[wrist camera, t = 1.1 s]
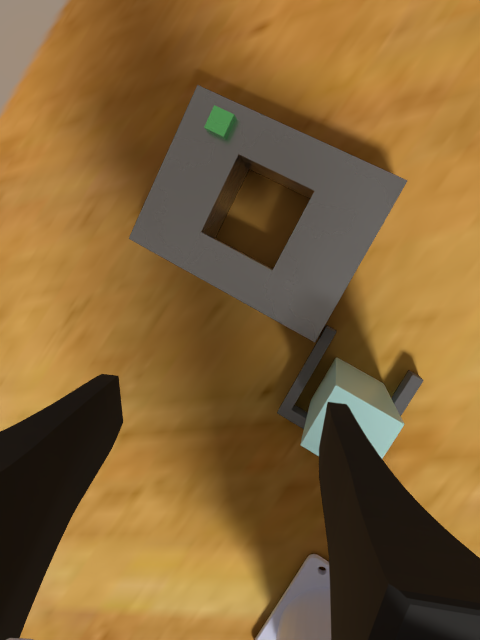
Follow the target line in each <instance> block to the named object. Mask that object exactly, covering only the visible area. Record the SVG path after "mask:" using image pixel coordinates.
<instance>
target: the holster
mask: <svg viewBox="0 0 480 640" xmlns="http://www.w3.org/2000/svg"><path fill="white" fill-rule="evenodd" d="M335 334H336V330H334V329H333V328H331V327H329V326H326V328H325V329H324V331H323V333H322V335H321V336H320V338H319V340H318V342H317V343H316V345H315V347H314V349H313V350H312V352H311V354H310V356H309V357H308V359H307V361H306V363H305V364H304V366H303V368H302V370H301V371H300V373H299V375H298V377H297V378H296V380H295V382H294V384H293V385H292V387H291V389H290V390H289V392H288V394H287V396H286V397H285V399H284V401H283V403H282V404H281V406H280V408H279V410H278V412H277V413H278V414H279V415H281V416H283V417H284V418H286V419H288V420H289V421H291V422H293V423H294V424H296V425H298V426H299V427H301V428H303V429H304V427H305V422H306V418H307V414H308V412H306V411H304V410H303V409H301V408H299V407H298V406H296V405H294V404H295V403H296V401H297V399H298V397H299V396H300V394H301V392H302V391H303V389H304V387H305V385H306V384H307V382H308V380H309V379H310V377H311V375H312V373H313V372H314V370H315V368H316V366H317V365H318V363H319V361H320V360H321V358H322V356H323V354H324V353H325V351H326V349H327V347H328V346H329V344H330V342H331V341H332V339H333V337H334V335H335ZM423 381H424V380H423V379H422V378H421V377H420V376H419V375H417V374H415V373H413V372H411V371H410V370H409V371H408V372H407V374H406V375H405V377H404V379H403V380H402V382H401V383H400V385H399V387H398V388H397V390H396V391H395V393H394V394H393V396H392V398H391V399H392V401H393V403H394V405H395V407H396V409H397V411H398V413H399V414H400V416H401V415H402V413H403V412H404V410H405V409H406V407H407V406H408V404H409V402H410V401H411V399H412V398H413V396H414V395H415V393H416V392H417V390H418V388H419V387H420V385H421V384H422V382H423Z"/></svg>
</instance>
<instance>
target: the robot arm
mask: <svg viewBox="0 0 480 640" xmlns="http://www.w3.org/2000/svg"><path fill="white" fill-rule="evenodd" d="M122 424H123V416H122V406H121V396H120V387H119V377H118V376H114V375H106V374H101V375H99V376H97V377H95V378H94V379H92V380H90V381H89V382H87V383H85V384H84V385H82V386H81V387H79V388H77V389H76V390H74V391H73V392H71V393H69V394H68V395H66V396H65V397H63V398H61V399H60V400H58V401H56V402H55V403H53V404H51V405H50V406H48V407H46V408H44V409H43V410H41V411H39V412H37V413H36V414H34V415H32V416H30V417H28V418H27V419H25V420H23V421H21V422H19V423H17V424H15V425H13V426H11V427H9V428H7V429H5V430H3V431H1V432H0V640H33V639H23V638H19V637H20V635H21V632H22V630H23V627H24V624H25V622H26V619H27V617H28V614H29V612H30V609H31V607H32V604H33V602H34V600H35V597H36V595H37V592H38V590H39V588H40V585H41V583H42V580H43V578H44V576H45V573H46V571H47V569H48V567H49V564H50V562H51V560H52V558H53V555H54V553H55V551H56V549H57V546H58V544H59V542H60V540H61V538H62V536H63V534H64V532H65V530H66V527H67V525H68V523H69V521H70V519H71V517H72V515H73V513H74V512H75V510H76V508H77V506H78V504H79V503H80V501H81V499H82V498H83V496H84V494H85V493H86V491H87V489H88V488H89V486H90V484H91V483H92V481H93V479H94V478H95V476H96V474H97V473H98V471H99V469H100V468H101V466H102V464H103V463H104V461H105V459H106V458H107V456H108V454H109V452H110V451H111V449H112V447H113V445H114V443H115V440H116V438H117V436H118V433H119V431H120V429H121V426H122ZM319 480H320V488H321V496H322V504H323V511H324V519H325V527H326V535H327V542H328V553H329V562H328V561H326V560H325V559H323V558H322V557H320V556H319V555H317V554H311V555H309V556H308V557H307V559H306V560H305V562H304V563H303V565H302V566H301V568H300V570H299V571H298V573H297V574H296V576H295V577H294V579H293V580H292V582H291V584H290V585H289V587H288V588H287V590H286V591H285V593H284V594H283V596H282V598H281V599H280V601H279V602H278V604H277V605H276V607H275V608H274V610H273V612H272V613H271V615H270V616H269V618H268V619H267V621H266V623H265V624H264V626H263V627H262V629H261V630H260V632H259V633H258V635H257V637H256V638H255V640H480V558H479V557H478V556H476V555H475V554H474V553H473V552H472V551H470V550H469V549H468V548H467V547H466V546H464V545H463V544H462V543H461V542H460V541H458V540H457V539H456V538H455V537H454V536H453V535H452V534H450V533H449V532H448V531H447V530H446V529H445V528H444V527H443V526H442V525H441V524H440V523H438V522H437V521H436V520H435V519H434V518H433V517H432V516H431V515H430V514H429V513H428V512H427V511H426V510H425V509H424V508H423V507H422V506H421V505H420V504H419V503H418V502H417V501H416V500H415V499H414V498H413V496H412V495H411V494H410V493H409V492H408V491H407V490H406V489H405V488H404V486H403V485H402V484H401V483H400V482H399V480H398V479H397V478H396V477H395V476H394V474H393V473H392V472H391V470H390V469H389V468H388V466H387V465H386V464H385V463H384V461H383V460H382V458H381V457H380V456H379V454H378V453H377V451H376V450H375V448H374V447H373V445H372V444H371V443H370V441H369V440H368V438H367V436H366V435H365V433H364V432H363V430H362V429H361V427H360V425H359V424H358V422H357V420H356V419H355V417H354V415H353V413H352V412H351V410H350V408H349V407H348V405H347V404H342V403H334V402H328V403H327V408H326V413H325V419H324V424H323V429H322V435H321V440H320V445H319ZM319 567H324V568H325V569H326V570H320V569H319Z"/></svg>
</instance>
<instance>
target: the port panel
mask: <svg viewBox="0 0 480 640" xmlns="http://www.w3.org/2000/svg"><path fill="white" fill-rule="evenodd" d="M249 169H250V170H252V171H254V172H256V173H259V174H261V175H263V176H265V177H267V178H269V179H271V180H273V181H275V182H277V183H279V184H281V185H283V186H285V187H287V188H289V189H291V190H293V191H296V192H298V193H300V194H302V195H304V196H306V197H308V198H310V201H309V202H308V204H307V206H306V208H305V210H304V212H303V214H302V216H301V218H300V219H299V221H298V223H297V225H296V227H295V229H294V231H293V233H292V235H291V236H290V238H289V240H288V242H287V244H286V246H285V248H284V250H283V252H282V253H281V255H280V257H279V259H278V261H277V263H276V265H275V267H274V269H272V268H270V267H268V266H266V265H265V264H263V263H261V262H259V261H257V260H255V259H253V258H251V257H249V256H248V255H246V254H244V253H242V252H240V251H238V250H236V249H234V248H233V247H231V246H229V245H227V244H225V243H223V242H221V241H219V240H218V239H216V236H217V234H218V231H219V229H220V227H221V225H222V223H223V221H224V219H225V217H226V215H227V213H228V211H229V209H230V207H231V205H232V203H233V201H234V199H235V197H236V195H237V193H238V191H239V189H240V187H241V185H242V183H243V181H244V179H245V177H246V175H247V173H248V170H249ZM406 182H407V180H405V179H403V178H401V177H399V176H396V175H394V174H392V173H390V172H388V171H385V170H383V169H381V168H379V167H377V166H374V165H372V164H370V163H368V162H366V161H363V160H361V159H359V158H357V157H355V156H352V155H350V154H348V153H346V152H344V151H341V150H339V149H337V148H335V147H333V146H331V145H328V144H326V143H324V142H322V141H320V140H317V139H315V138H313V137H311V136H309V135H306V134H304V133H302V132H300V131H298V130H295V129H293V128H291V127H289V126H287V125H284V124H282V123H280V122H278V121H276V120H273V119H271V118H269V117H267V116H265V115H262V114H260V113H258V112H256V111H254V110H251V109H249V108H247V107H245V106H243V105H240V104H238V103H236V102H234V101H232V100H229V99H227V98H225V97H223V96H221V95H218V94H216V93H214V92H212V91H210V90H207V89H205V88H203V87H201V86H199V85H197V87H196V90H195V92H194V94H193V96H192V99H191V101H190V103H189V105H188V107H187V110H186V112H185V114H184V116H183V119H182V121H181V123H180V125H179V128H178V130H177V132H176V134H175V136H174V139H173V141H172V143H171V145H170V148H169V150H168V152H167V154H166V157H165V159H164V161H163V163H162V166H161V168H160V170H159V172H158V174H157V177H156V179H155V181H154V183H153V186H152V188H151V190H150V192H149V195H148V197H147V199H146V201H145V203H144V206H143V208H142V210H141V212H140V215H139V217H138V219H137V221H136V224H135V226H134V228H133V230H132V232H131V235H130V237H129V239H130V240H132V241H134V242H136V243H138V244H139V245H141V246H143V247H145V248H147V249H148V250H150V251H152V252H154V253H155V254H157V255H159V256H161V257H163V258H164V259H166V260H168V261H170V262H172V263H173V264H175V265H177V266H179V267H181V268H182V269H184V270H186V271H188V272H190V273H191V274H193V275H195V276H197V277H198V278H200V279H202V280H204V281H206V282H207V283H209V284H211V285H213V286H215V287H216V288H218V289H220V290H222V291H224V292H225V293H227V294H229V295H231V296H233V297H234V298H236V299H238V300H240V301H241V302H243V303H245V304H247V305H249V306H250V307H252V308H254V309H256V310H258V311H259V312H261V313H263V314H265V315H267V316H268V317H270V318H272V319H274V320H276V321H277V322H279V323H281V324H283V325H285V326H286V327H288V328H290V329H292V330H293V331H295V332H297V333H299V334H301V335H302V336H304V337H306V338H308V339H310V340H311V341H313V342H315V341H316V340H317V338H318V336H319V334H320V333H321V331H322V329H323V327H324V326H325V324H326V322H327V321H328V319H329V317H330V315H331V314H332V312H333V310H334V308H335V307H336V305H337V303H338V301H339V300H340V298H341V296H342V294H343V293H344V291H345V289H346V287H347V286H348V284H349V282H350V280H351V279H352V277H353V275H354V273H355V272H356V270H357V268H358V266H359V265H360V263H361V261H362V259H363V258H364V256H365V254H366V252H367V251H368V249H369V247H370V245H371V244H372V242H373V240H374V238H375V237H376V235H377V233H378V231H379V230H380V228H381V226H382V224H383V223H384V221H385V219H386V217H387V216H388V214H389V212H390V210H391V209H392V207H393V205H394V203H395V202H396V200H397V198H398V196H399V195H400V193H401V191H402V189H403V188H404V186H405V184H406Z"/></svg>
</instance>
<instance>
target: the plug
mask: <svg viewBox="0 0 480 640" xmlns="http://www.w3.org/2000/svg"><path fill="white" fill-rule="evenodd" d="M328 402H334V403H342V404H347V405H348V407H349V408H350V410H351V412H352V413H353V415H354V417H355V419H356V420H357V422H358V424H359V425H360V427H361V429H362V430H363V432H364V433H365V435H366V436H367V438H368V440H369V441H370V443H371V444H372V445H373V447H374V448H375V450H376V451H377V453H378V454H379V456H380V457H381V458H383V457H384V455H385V454H386V452H387V451H388V449H389V448H390V446H391V444H392V443H393V441H394V440H395V438H396V437H397V435H398V434H399V432H400V431H401V429H402V427H403V426H404V422H403V420H402V418H401V416H400V414H399V413H398V411H397V409H396V407H395V405H394V403H393V401H392V399H391V397H390V395H389V393H388V391H387V389H386V387H385V385H384V383H382V382H380V381H378V380H377V379H375V378H373V377H371V376H369V375H368V374H366V373H364V372H362V371H361V370H359V369H357V368H355V367H353V366H352V365H350V364H348V363H346V362H344V361H343V360H341V359H339V358H337V357H336V358H335V360H334V361H333V363H332V365H331V366H330V368H329V370H328V371H327V373H326V375H325V377H324V378H323V380H322V382H321V383H320V385H319V387H318V388H317V390H316V392H315V394H314V395H313V397H312V399H311V401H310V405H309V410H308V414H307V418H306V422H305V427H304V431H303V435H302V439H301V444H300V445H301V446H303V447H304V448H306V449H307V450H309V451H311V452H312V453H314V454H316V455H317V456H319V445H320V440H321V435H322V429H323V424H324V419H325V413H326V408H327V403H328Z"/></svg>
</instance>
